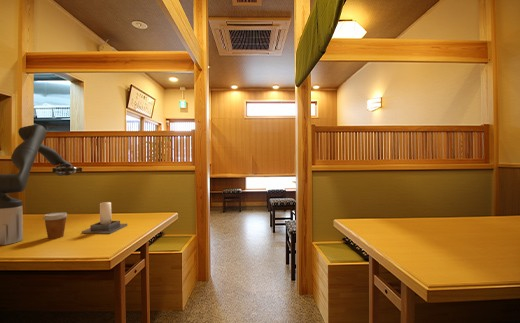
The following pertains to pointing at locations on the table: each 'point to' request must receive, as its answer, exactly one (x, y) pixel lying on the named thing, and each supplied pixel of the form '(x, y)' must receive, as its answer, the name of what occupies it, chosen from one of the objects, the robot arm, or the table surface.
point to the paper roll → (105, 213)
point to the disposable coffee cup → (55, 224)
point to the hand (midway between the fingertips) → (68, 170)
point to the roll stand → (105, 228)
